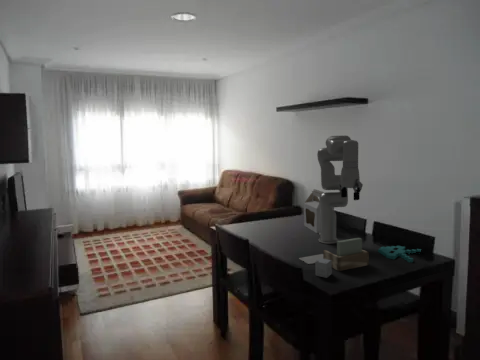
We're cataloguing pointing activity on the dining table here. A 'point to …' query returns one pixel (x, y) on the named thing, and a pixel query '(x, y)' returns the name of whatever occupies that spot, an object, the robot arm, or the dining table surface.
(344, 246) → the sheet
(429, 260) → the dining table surface
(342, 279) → the dining table surface
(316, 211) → the gable box
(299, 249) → the dining table surface
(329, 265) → the skincare box
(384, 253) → the alien figure
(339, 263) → the brown wooden open box
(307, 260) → the felt mat
